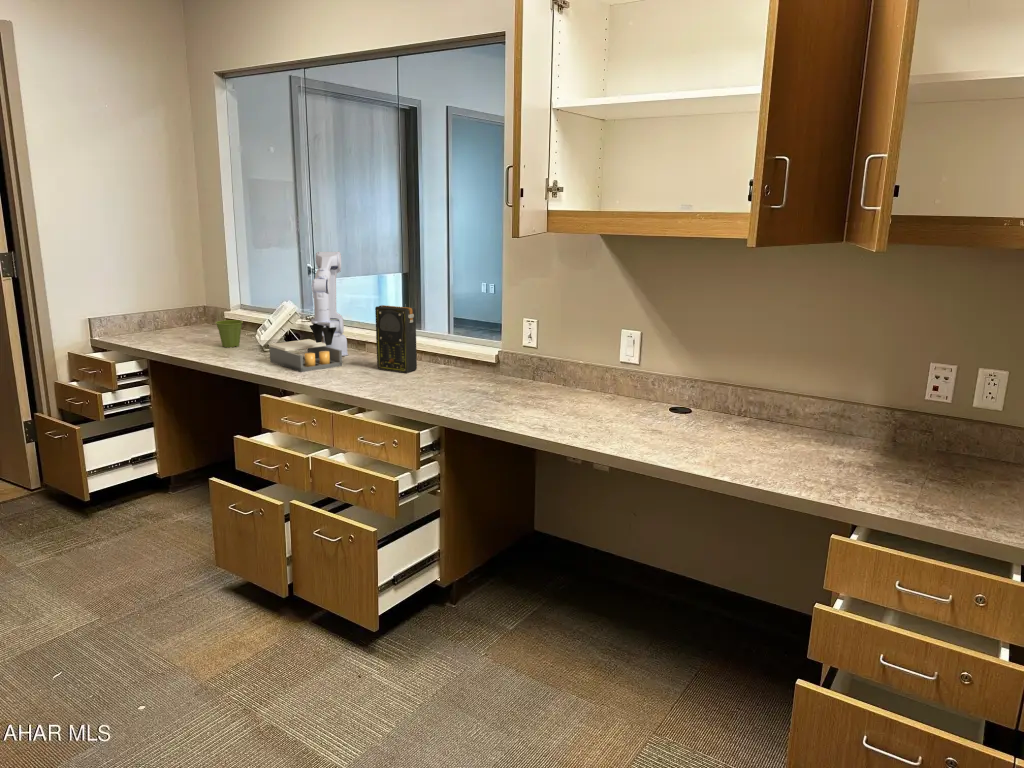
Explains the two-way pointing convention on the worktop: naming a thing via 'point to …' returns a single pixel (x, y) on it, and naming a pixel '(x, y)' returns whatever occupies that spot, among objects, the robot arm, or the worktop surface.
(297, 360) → the housing
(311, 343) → the lid
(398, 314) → the voltmeter
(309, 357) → the orange rounded cylinder
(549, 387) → the worktop surface
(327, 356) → the peg
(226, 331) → the plant pot
